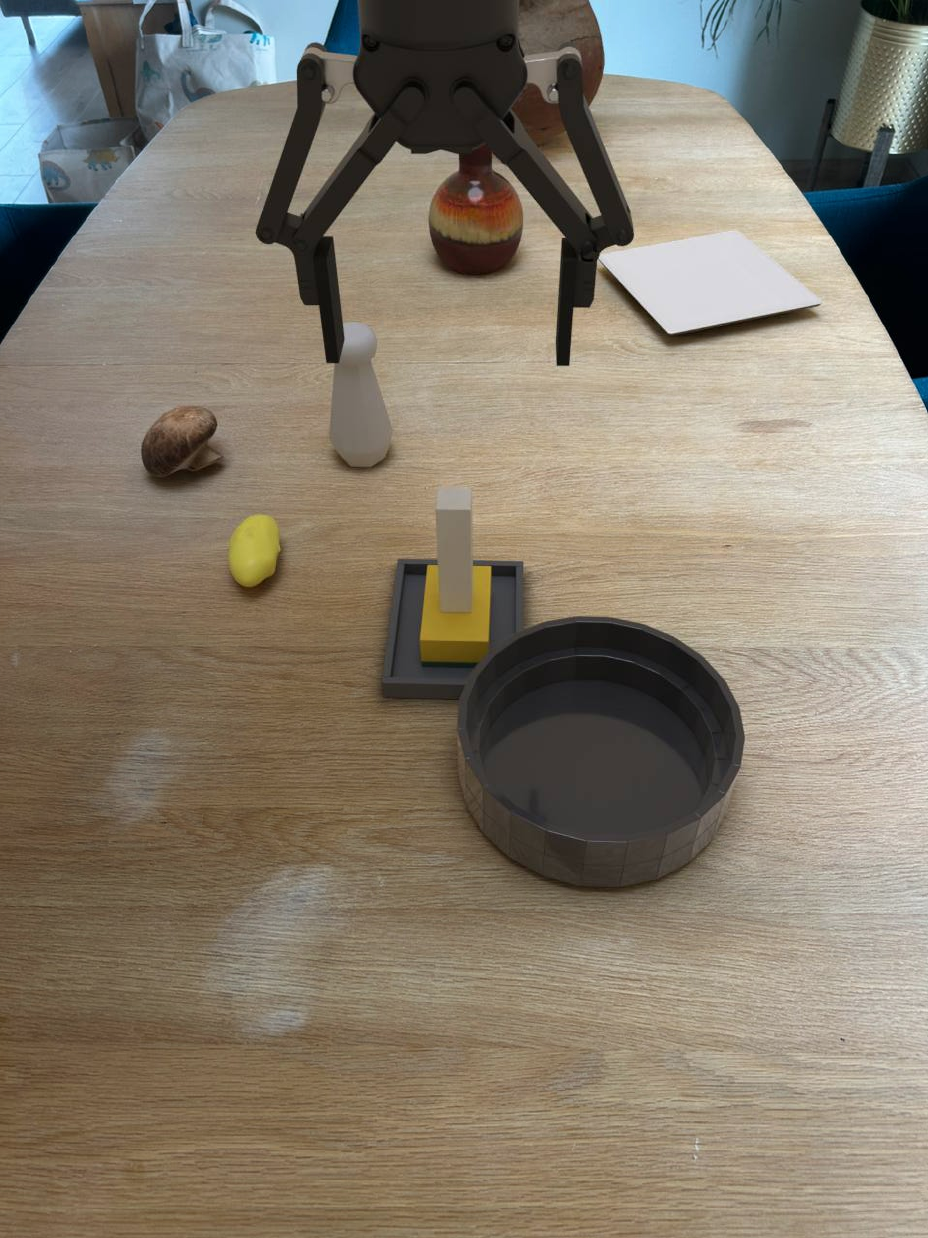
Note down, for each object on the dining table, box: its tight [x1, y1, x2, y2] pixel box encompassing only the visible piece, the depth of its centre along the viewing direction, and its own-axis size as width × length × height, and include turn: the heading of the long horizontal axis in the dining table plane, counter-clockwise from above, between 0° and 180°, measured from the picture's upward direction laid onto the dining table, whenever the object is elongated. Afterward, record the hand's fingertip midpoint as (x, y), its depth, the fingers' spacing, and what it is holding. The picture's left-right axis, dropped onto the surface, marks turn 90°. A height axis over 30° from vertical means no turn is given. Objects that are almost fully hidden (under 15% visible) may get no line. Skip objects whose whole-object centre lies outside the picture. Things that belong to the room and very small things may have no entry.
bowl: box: [456, 615, 746, 888], centre depth 66 cm, size 18×18×6 cm
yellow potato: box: [227, 514, 282, 588], centre depth 82 cm, size 4×8×4 cm, turn 175°
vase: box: [428, 143, 524, 275], centre depth 115 cm, size 11×11×15 cm
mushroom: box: [140, 405, 224, 478], centre depth 91 cm, size 8×8×6 cm
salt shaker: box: [328, 321, 394, 468], centre depth 89 cm, size 6×6×13 cm
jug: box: [511, 0, 606, 148], centre depth 135 cm, size 22×22×30 cm
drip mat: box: [381, 558, 524, 700], centre depth 77 cm, size 13×10×2 cm
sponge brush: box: [420, 486, 491, 668], centre depth 73 cm, size 8×5×13 cm, turn 177°
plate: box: [597, 229, 824, 337], centre depth 113 cm, size 19×19×2 cm
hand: (448, 352), depth 60 cm, fingers open, 13 cm apart
